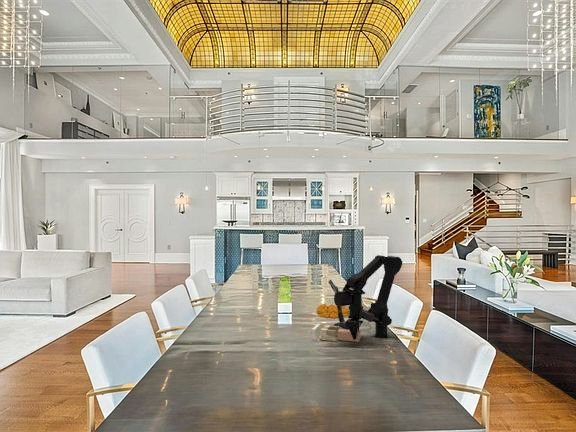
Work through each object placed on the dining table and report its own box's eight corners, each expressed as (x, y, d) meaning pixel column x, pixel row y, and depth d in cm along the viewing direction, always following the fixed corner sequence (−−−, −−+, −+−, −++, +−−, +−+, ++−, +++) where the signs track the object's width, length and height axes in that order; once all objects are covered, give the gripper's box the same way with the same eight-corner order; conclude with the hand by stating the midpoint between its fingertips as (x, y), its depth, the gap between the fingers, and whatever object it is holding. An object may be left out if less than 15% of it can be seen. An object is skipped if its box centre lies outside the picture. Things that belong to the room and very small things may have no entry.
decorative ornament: (317, 311, 233) (316, 300, 263) (317, 319, 233) (316, 307, 263) (351, 311, 232) (346, 300, 262) (351, 320, 232) (346, 308, 262)
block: (325, 334, 201) (325, 325, 201) (339, 335, 199) (339, 326, 199) (320, 339, 193) (320, 329, 193) (335, 341, 190) (335, 331, 190)
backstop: (317, 334, 203) (317, 323, 203) (320, 334, 202) (320, 324, 202) (311, 339, 194) (311, 329, 194) (315, 340, 193) (315, 329, 193)
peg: (358, 341, 189) (358, 333, 189) (337, 339, 192) (337, 331, 192) (360, 339, 193) (360, 330, 193) (339, 337, 196) (339, 329, 196)
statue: (350, 331, 208) (352, 282, 208) (326, 329, 211) (328, 280, 210) (351, 326, 218) (353, 279, 218) (328, 324, 221) (330, 277, 220)
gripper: (370, 309, 180) (370, 345, 180) (375, 301, 198) (375, 334, 198) (344, 308, 184) (345, 343, 184) (352, 300, 202) (352, 332, 202)
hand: (355, 338), depth 192 cm, fingers closed on peg, 4 cm apart
